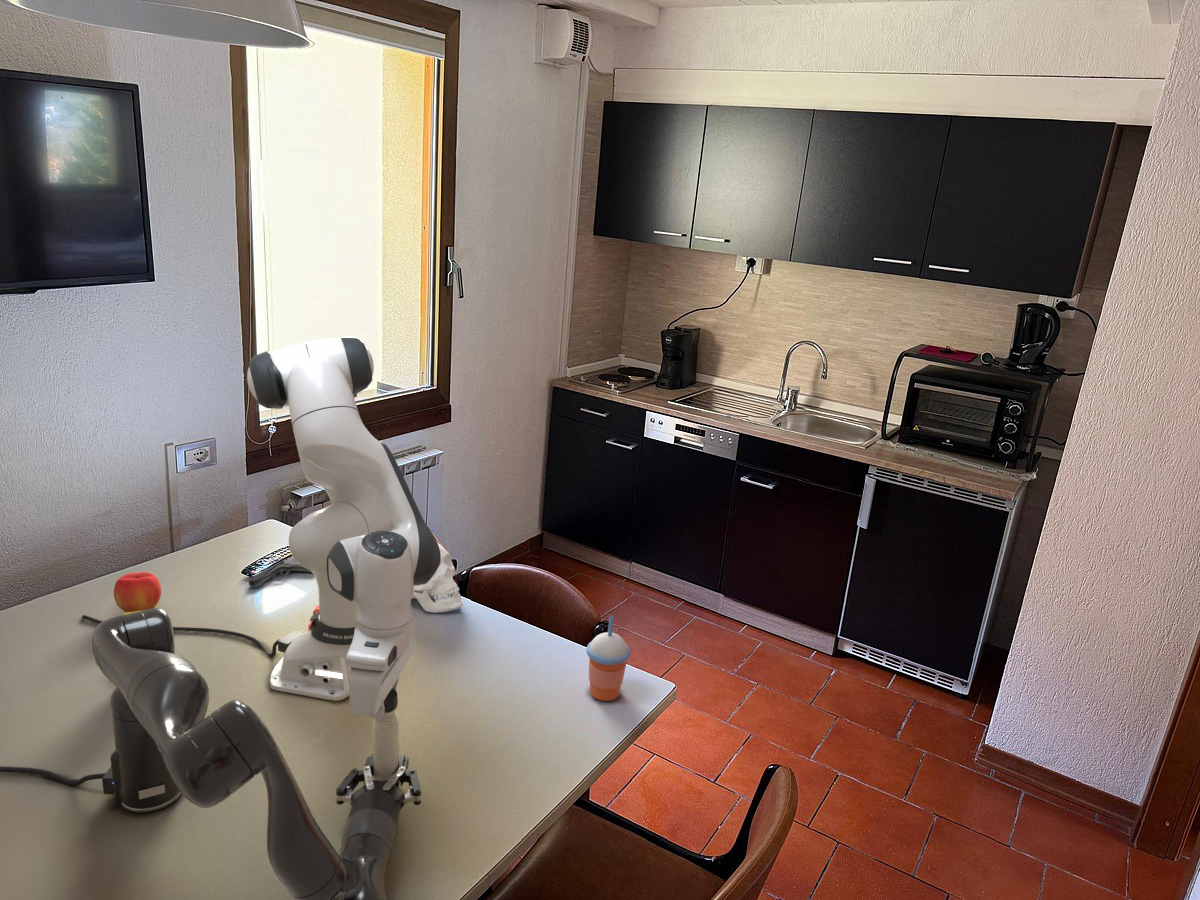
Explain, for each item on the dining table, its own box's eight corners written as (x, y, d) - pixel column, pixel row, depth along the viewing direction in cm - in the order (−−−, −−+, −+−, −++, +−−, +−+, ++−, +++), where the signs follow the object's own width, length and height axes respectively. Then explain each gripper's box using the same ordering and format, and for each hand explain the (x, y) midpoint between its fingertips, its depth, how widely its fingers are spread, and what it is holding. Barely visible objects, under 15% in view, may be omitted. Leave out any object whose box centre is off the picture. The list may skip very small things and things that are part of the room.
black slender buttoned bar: (292, 594, 211) (247, 586, 213) (325, 565, 228) (283, 558, 229) (291, 586, 211) (246, 578, 212) (325, 557, 227) (283, 550, 229)
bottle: (372, 792, 147) (370, 692, 141) (397, 788, 148) (397, 688, 142) (374, 809, 143) (373, 706, 137) (400, 804, 144) (399, 703, 138)
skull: (448, 622, 203) (451, 561, 199) (372, 599, 211) (374, 540, 207) (477, 602, 215) (480, 543, 211) (405, 581, 223) (406, 524, 219)
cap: (395, 713, 138) (395, 701, 138) (370, 712, 138) (370, 701, 137) (399, 699, 142) (399, 688, 141) (375, 699, 142) (375, 687, 141)
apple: (166, 618, 196) (163, 578, 193) (118, 627, 190) (114, 586, 187) (159, 600, 203) (156, 561, 200) (113, 608, 198) (109, 569, 195)
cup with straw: (621, 709, 175) (629, 631, 170) (578, 700, 177) (585, 623, 172) (629, 685, 184) (636, 610, 179) (588, 677, 185) (594, 603, 180)
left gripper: (417, 810, 130) (431, 739, 146) (321, 809, 128) (345, 738, 145) (417, 850, 132) (430, 776, 148) (323, 850, 130) (346, 775, 147)
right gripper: (387, 600, 146) (387, 671, 150) (340, 663, 127) (342, 742, 131) (423, 604, 146) (422, 675, 150) (382, 668, 126) (382, 747, 130)
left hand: (388, 758), depth 146 cm, fingers closed on bottle, 4 cm apart
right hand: (384, 707), depth 140 cm, fingers closed on cap, 4 cm apart
